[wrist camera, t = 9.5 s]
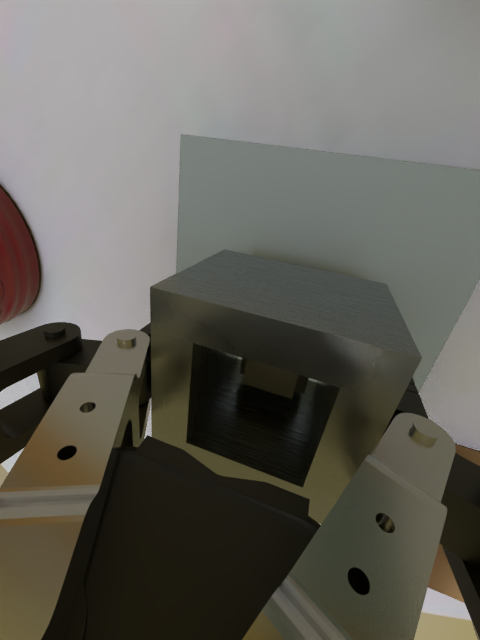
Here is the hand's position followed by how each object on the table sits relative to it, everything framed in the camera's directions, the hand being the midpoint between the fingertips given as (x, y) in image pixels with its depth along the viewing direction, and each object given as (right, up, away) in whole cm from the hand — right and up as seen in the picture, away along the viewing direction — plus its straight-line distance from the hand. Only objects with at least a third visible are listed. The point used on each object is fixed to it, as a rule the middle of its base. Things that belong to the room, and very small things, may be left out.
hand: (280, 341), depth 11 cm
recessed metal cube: (0, 0, +1) cm, 1 cm away
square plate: (+2, +2, +5) cm, 6 cm away
